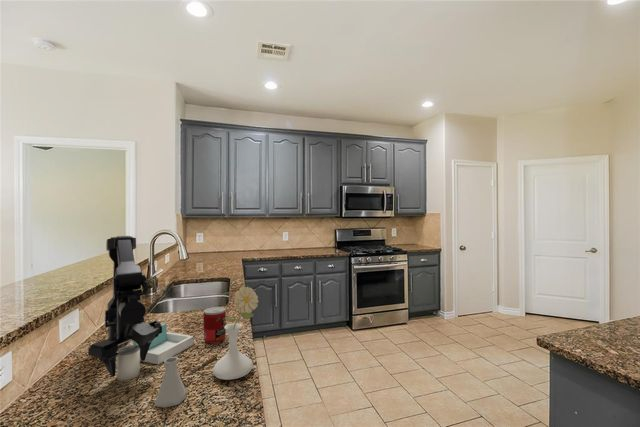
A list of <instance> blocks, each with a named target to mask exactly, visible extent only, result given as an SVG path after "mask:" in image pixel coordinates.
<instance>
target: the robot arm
mask: <svg viewBox="0 0 640 427" xmlns="http://www.w3.org/2000/svg"><path fill="white" fill-rule="evenodd" d="M105 244H106V246H105V247H106V252H107V251H108V256H109V258H110V259H111V261H112V263H113V266H112V267H113V268H112V269H113V272H112V273H113V276H112V298H111V299H110V301H108V303H107V309H105V310H104V327H105V328H107V329H108V332H107V333H108V334H107V335H108V338H107V339H103V340H99V341H97V342H94V343H92V344H90V346H89V348H88V350H87V351H88V353H87V354H88V357H89V356H90V357H94V358H99V360H100V361H101V363H102V364H103V365H104V367H105V368H106V370H107V371H108V373H109V375H110V376H111V377H115V376H116V373H117V356H118V354H119V353H117V352H118V350H119V347H120V346H121V345H124V344H126V343H129V342H133V341H135V342H136V343H137V344H138V345H139V348H140V358H141V361H140V362H144V360H145V358H146V355H147V352H148V350H149V347H150V345H151V342H152V341H153V340H154V339H155V338H156V337H158V336H159V335H158V334H160V333H162V326H161V325H162V323H161V321H159V320H157V319H156V320H153V321H149V322H145V315H146V312H147V311H146V306H145V305H144V304H143V302H142V300H141V296H145V295H146V296H147V292H148V290H149V286H148V280H147V276H146V275H145V273H143V271H142V268H141V266H140V265H139V264H137V263H136V262H135V257H134V256H135V255H134V250H135V249H137V237H133V236H131V235H117V236H112V237H110V238H107V239H106V243H105Z"/></svg>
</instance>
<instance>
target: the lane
mask: <svg viewBox="0 0 640 427" xmlns="http://www.w3.org/2000/svg"><path fill="white" fill-rule="evenodd" d="M192 346H194V335H188V334H182V333H176V332H170V331H169V332H167V340H166V341H164V342H162V343H160V344H158V345H156V346H154V347H151V348H149V350H148V352H147V355H146V358H145V360H144V361H143V362H144V363H149V364H153V365H159V364H161V363H162V364H163V363H164V361H165V359H167V358H169V357H175V356H176V355H178V354H180V353H181V352H183V351H185V350H187V349H188V348H191V347H192ZM140 362H142V361H141V358H140Z"/></svg>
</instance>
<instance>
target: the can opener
mask: <svg viewBox="0 0 640 427" xmlns="http://www.w3.org/2000/svg"><path fill="white" fill-rule="evenodd" d="M215 360H217V356H213V357H211V358H210V359H208V360H207V361H205V362H204V363H202V365H200V366H197V367H195V368H194V369H193V370H192V372H197V370H200V369H204V367H206V366H207V365H209V364H210V363H212V362H214V361H215Z"/></svg>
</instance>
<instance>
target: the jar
mask: <svg viewBox="0 0 640 427" xmlns="http://www.w3.org/2000/svg"><path fill="white" fill-rule="evenodd" d="M116 353H119V354H118V356H117V357H116V380H118V381H120V382H122V381H123V380H124V381H128V380H129V381H130V380H132V379H134V377H135V378H137V377H138V376H139V375H140V373H141V361H140V348H139V346H138V345H133V344H130V345H126V346H123V347H121V348H118V350H117V352H116ZM137 375H138V376H137Z"/></svg>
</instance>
